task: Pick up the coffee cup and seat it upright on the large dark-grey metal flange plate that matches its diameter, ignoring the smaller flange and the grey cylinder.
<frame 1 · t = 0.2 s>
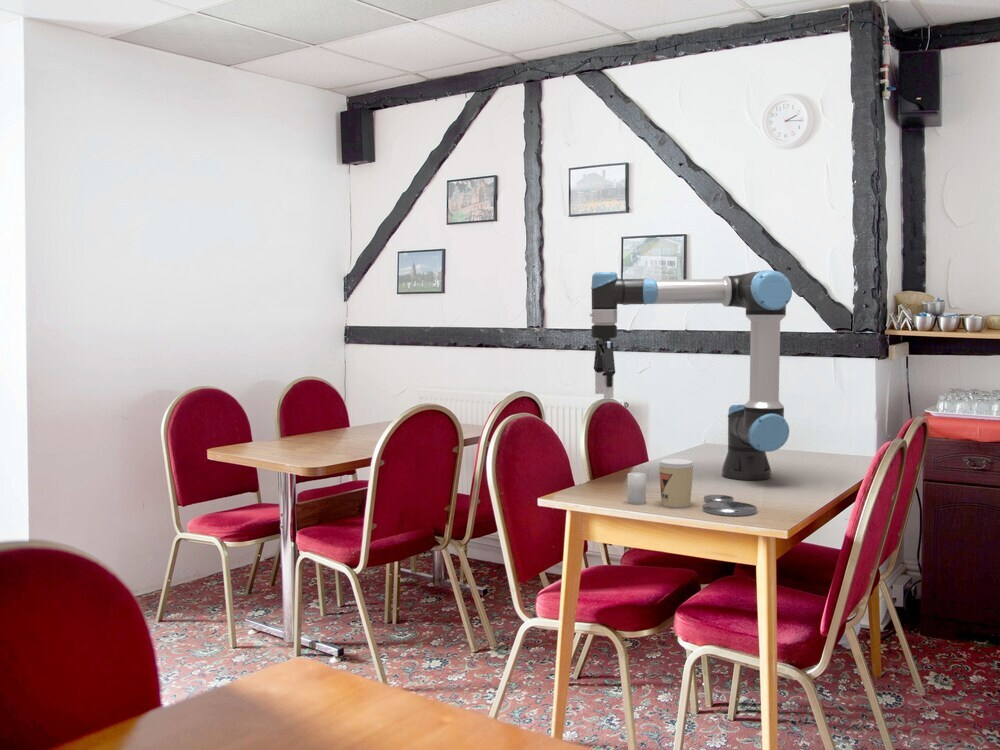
hand: (604, 396, 274), 28 cm above the table, fingers open, 13 cm apart
coffee cup: (675, 505, 253), on the table
flange small: (718, 501, 257), on the table
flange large: (729, 510, 245), on the table
grey cylinder: (636, 502, 256), on the table
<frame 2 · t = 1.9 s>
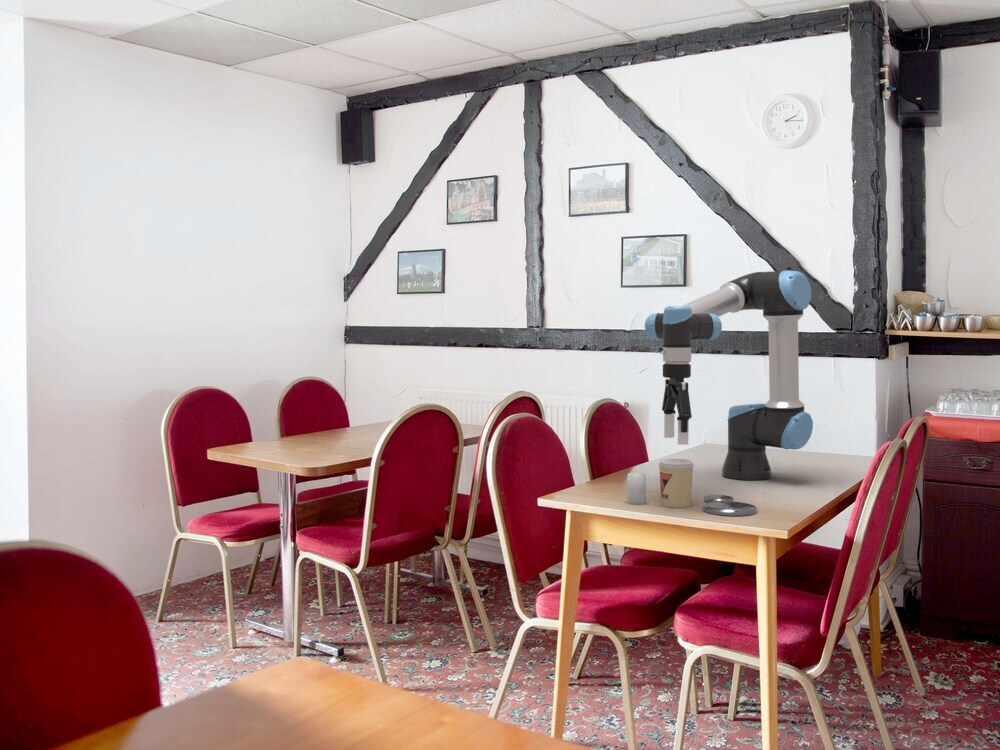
hand: (675, 440, 251), 18 cm above the table, fingers open, 13 cm apart
nothing on the table moved.
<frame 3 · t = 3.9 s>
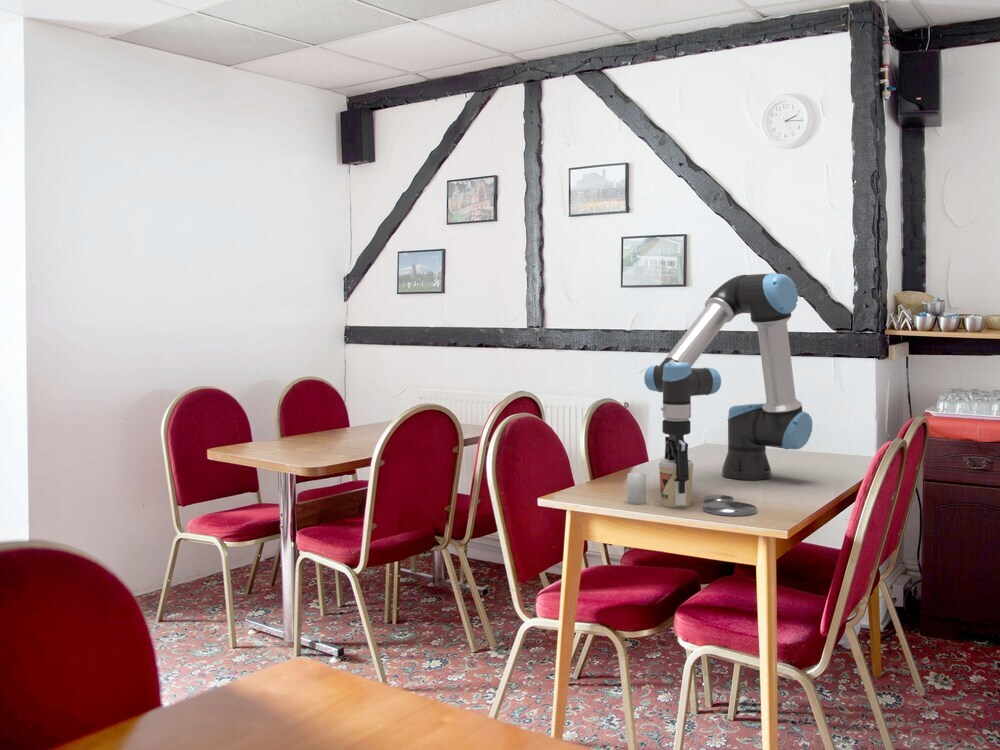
hand: (675, 501, 253), 1 cm above the table, fingers closed on coffee cup, 9 cm apart
coffee cup: (675, 505, 253), on the table, touching gripper
everything else where it was.
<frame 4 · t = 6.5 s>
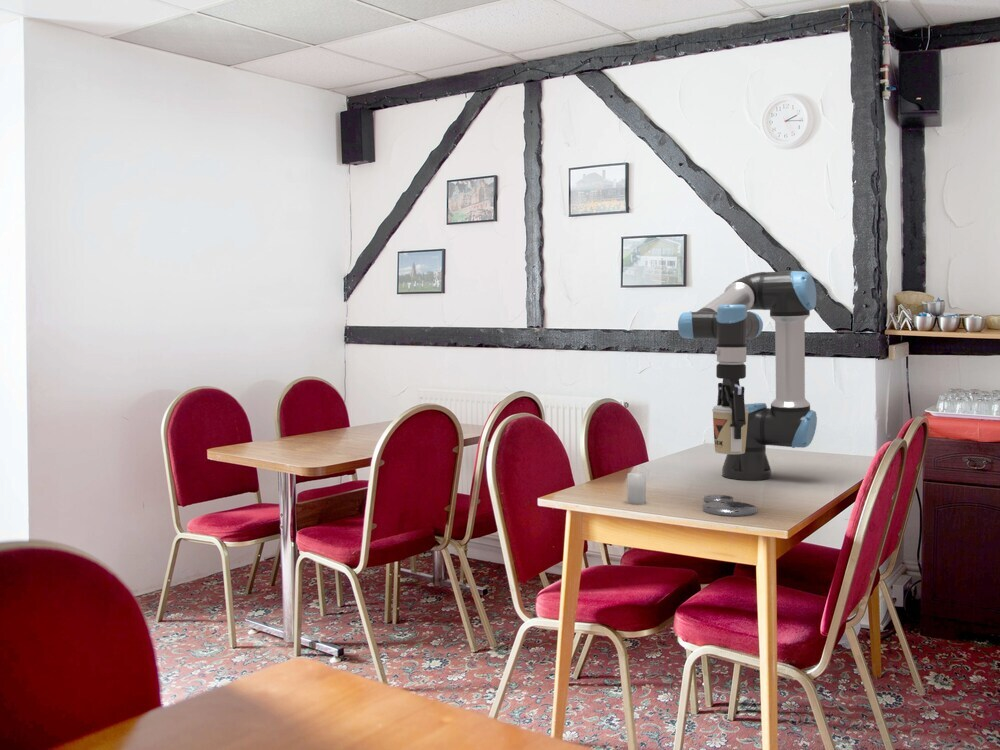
hand: (730, 448, 244), 17 cm above the table, fingers closed on coffee cup, 9 cm apart
coffee cup: (729, 452, 244), point 15 cm above the table, touching gripper
everything else where it was.
when the fingers open (4 cm above the table, at t = 9.2 s): coffee cup drops 2 cm, resting on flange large.
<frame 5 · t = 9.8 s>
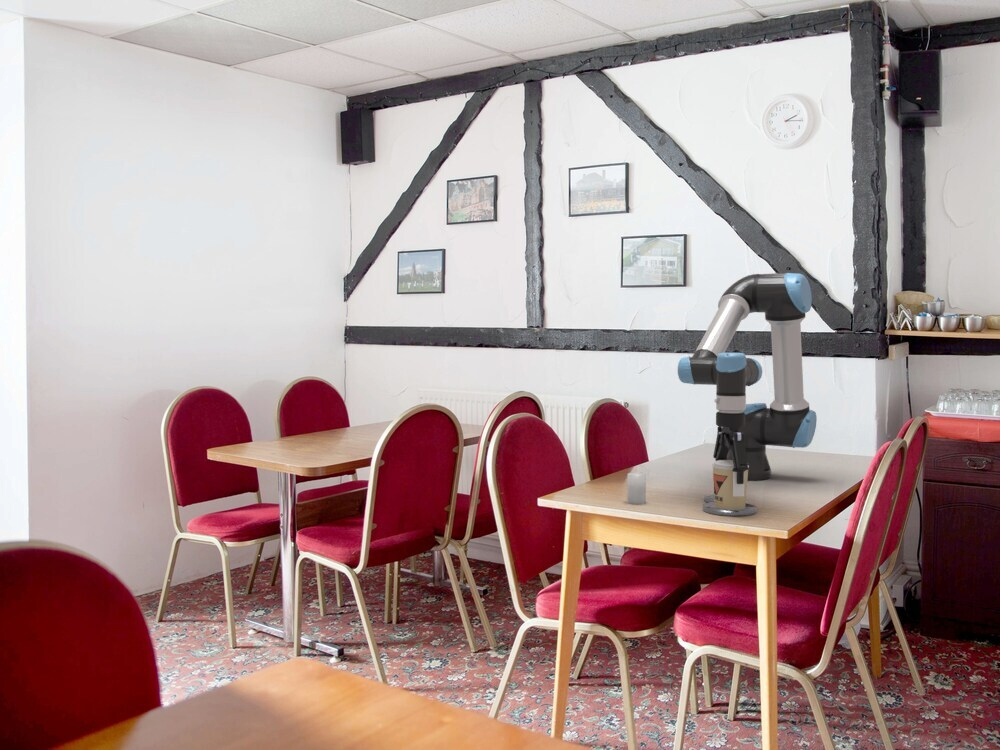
hand: (729, 491, 244), 5 cm above the table, fingers open, 13 cm apart
coffee cup: (730, 508, 244), point 1 cm above the table, touching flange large
everything else where it was.
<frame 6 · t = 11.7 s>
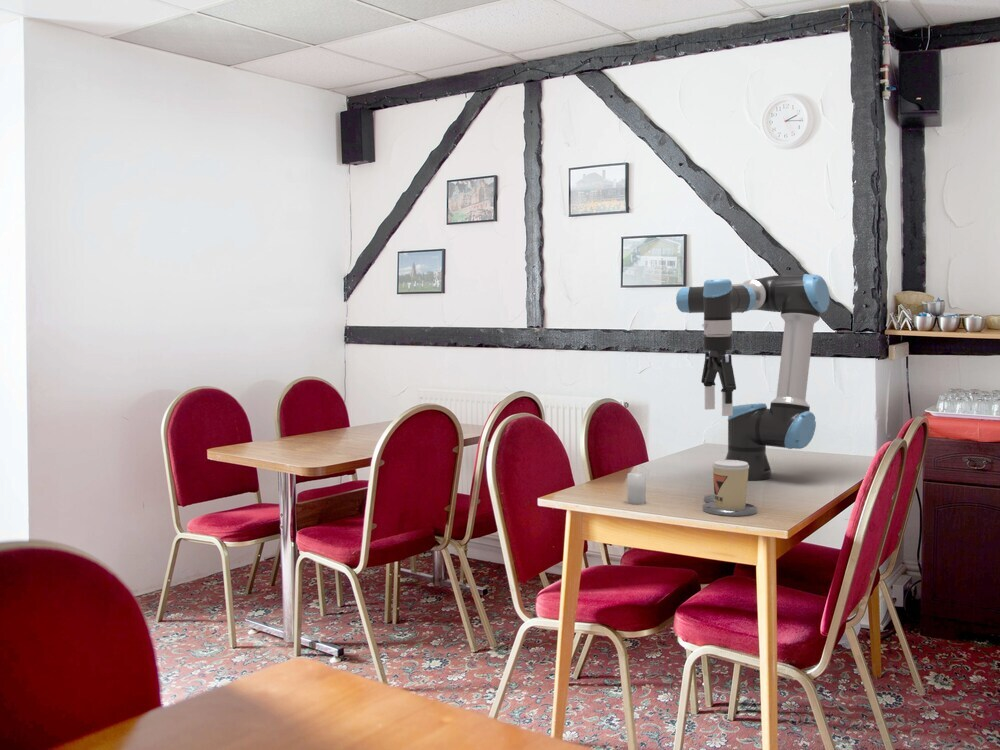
hand: (718, 412, 255), 25 cm above the table, fingers open, 13 cm apart
nothing on the table moved.
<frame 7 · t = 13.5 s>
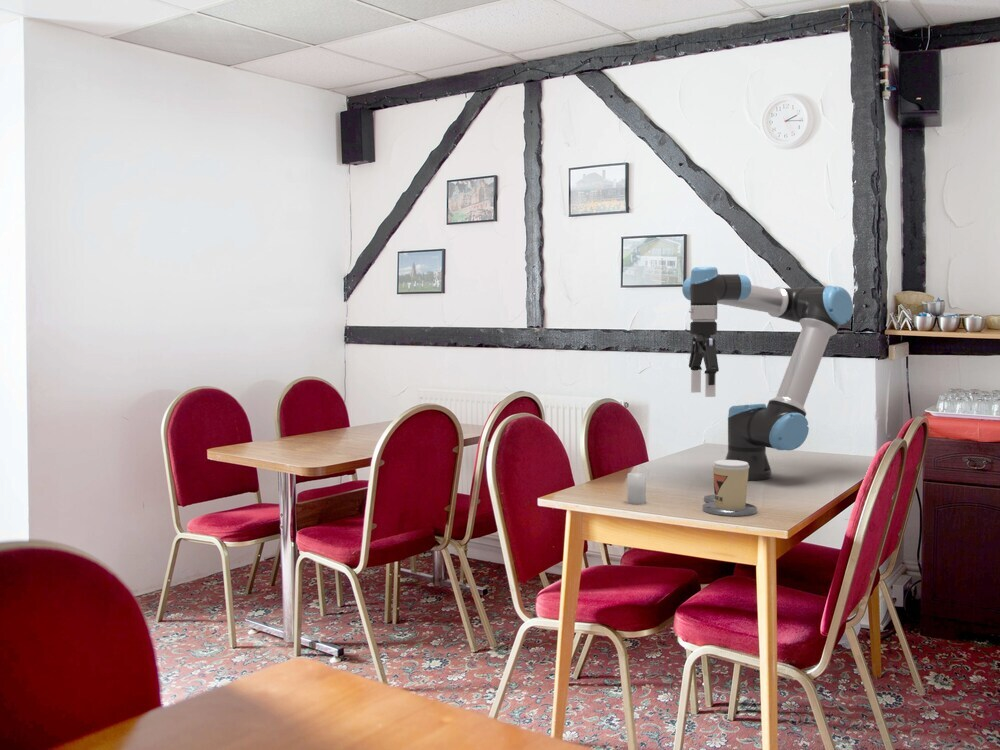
hand: (702, 394, 267), 29 cm above the table, fingers open, 13 cm apart
nothing on the table moved.
at the end: coffee cup 1.0 cm from the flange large (horizontally); coffee cup tilted 1°; coffee cup point 0.8 cm above the table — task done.
